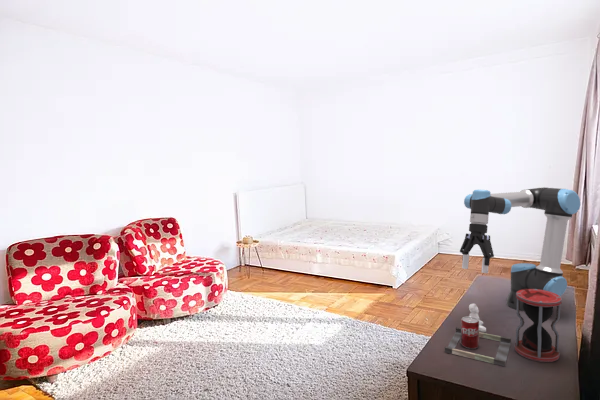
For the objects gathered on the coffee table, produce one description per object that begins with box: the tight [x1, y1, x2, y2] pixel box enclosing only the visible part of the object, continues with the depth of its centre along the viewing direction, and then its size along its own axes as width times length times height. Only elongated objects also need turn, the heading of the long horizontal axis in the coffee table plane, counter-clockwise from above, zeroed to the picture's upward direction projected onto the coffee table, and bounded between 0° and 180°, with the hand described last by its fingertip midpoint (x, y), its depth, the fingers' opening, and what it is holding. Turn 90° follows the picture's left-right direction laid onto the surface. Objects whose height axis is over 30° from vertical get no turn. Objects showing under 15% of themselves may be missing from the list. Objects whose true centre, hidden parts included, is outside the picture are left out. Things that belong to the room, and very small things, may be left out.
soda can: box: [460, 315, 480, 350], centre depth 172 cm, size 7×7×12 cm
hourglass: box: [514, 289, 563, 363], centre depth 163 cm, size 16×16×25 cm
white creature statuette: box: [468, 303, 487, 333], centre depth 188 cm, size 10×9×12 cm
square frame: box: [444, 327, 512, 367], centre depth 170 cm, size 22×23×2 cm
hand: (474, 270), depth 176 cm, fingers open, 13 cm apart
